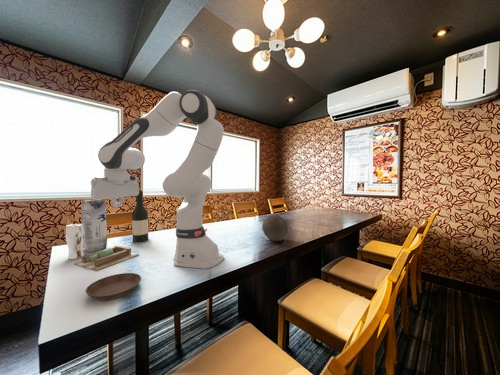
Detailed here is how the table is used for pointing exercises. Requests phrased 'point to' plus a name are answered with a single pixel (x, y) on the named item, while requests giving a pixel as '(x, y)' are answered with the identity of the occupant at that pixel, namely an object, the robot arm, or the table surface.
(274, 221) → the cantaloupe
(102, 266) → the cradle
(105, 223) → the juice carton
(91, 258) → the bottle
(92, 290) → the saucer
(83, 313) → the table surface
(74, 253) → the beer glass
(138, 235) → the wine bottle
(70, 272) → the table surface
